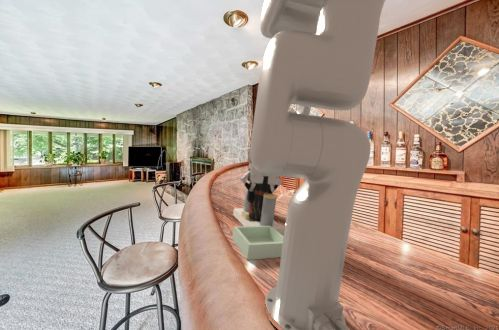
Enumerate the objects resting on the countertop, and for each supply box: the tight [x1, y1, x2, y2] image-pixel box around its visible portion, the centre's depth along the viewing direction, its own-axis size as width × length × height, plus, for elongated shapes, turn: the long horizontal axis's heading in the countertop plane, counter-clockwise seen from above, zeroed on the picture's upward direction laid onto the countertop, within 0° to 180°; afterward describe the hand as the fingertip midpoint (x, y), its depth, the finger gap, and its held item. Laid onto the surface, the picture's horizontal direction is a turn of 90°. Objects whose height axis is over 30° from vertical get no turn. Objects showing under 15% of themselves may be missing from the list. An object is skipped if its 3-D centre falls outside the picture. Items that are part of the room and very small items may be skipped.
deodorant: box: [249, 176, 270, 222], centre depth 75 cm, size 6×6×15 cm
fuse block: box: [232, 187, 285, 236], centre depth 75 cm, size 21×10×12 cm, turn 22°
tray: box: [231, 225, 284, 261], centre depth 58 cm, size 12×12×4 cm
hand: (259, 202), depth 75 cm, fingers closed on deodorant, 5 cm apart
